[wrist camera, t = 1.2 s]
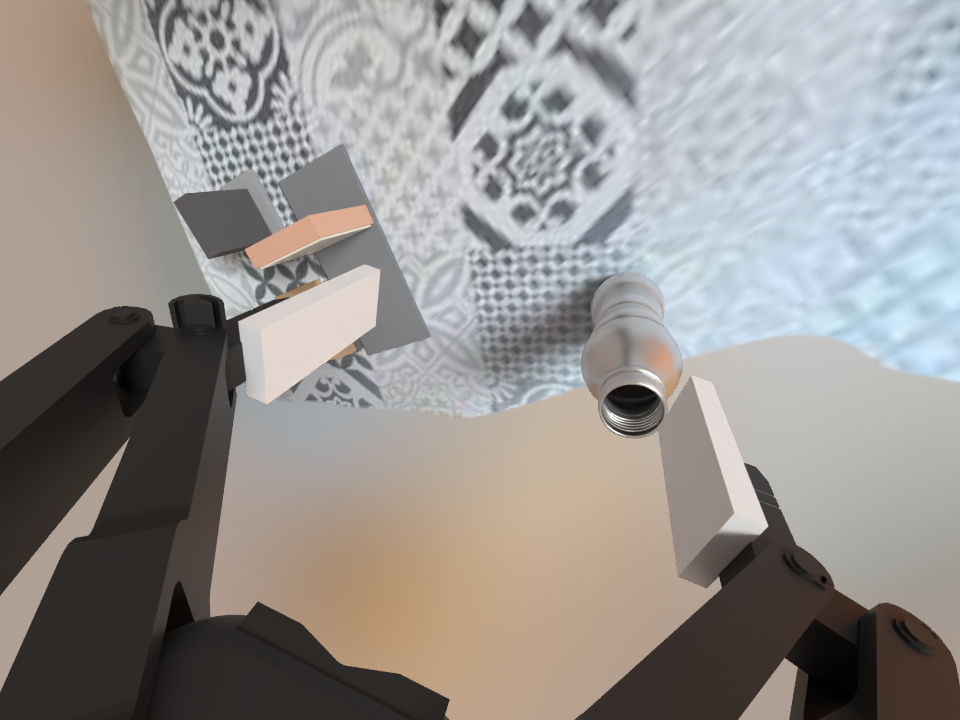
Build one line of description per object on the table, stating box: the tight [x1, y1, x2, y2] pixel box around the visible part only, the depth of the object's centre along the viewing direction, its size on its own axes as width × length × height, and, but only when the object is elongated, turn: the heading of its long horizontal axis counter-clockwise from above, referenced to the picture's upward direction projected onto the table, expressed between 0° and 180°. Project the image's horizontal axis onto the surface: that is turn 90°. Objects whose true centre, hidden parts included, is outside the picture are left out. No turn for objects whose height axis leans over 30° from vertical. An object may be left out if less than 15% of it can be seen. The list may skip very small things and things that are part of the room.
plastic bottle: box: [581, 272, 683, 438], centre depth 30 cm, size 6×7×20 cm
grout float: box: [174, 170, 285, 259], centre depth 44 cm, size 9×5×8 cm, turn 22°
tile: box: [245, 205, 374, 269], centre depth 40 cm, size 2×9×9 cm, turn 112°
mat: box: [278, 145, 430, 355], centre depth 46 cm, size 22×10×1 cm, turn 22°
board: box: [275, 279, 357, 361], centre depth 51 cm, size 10×7×1 cm
